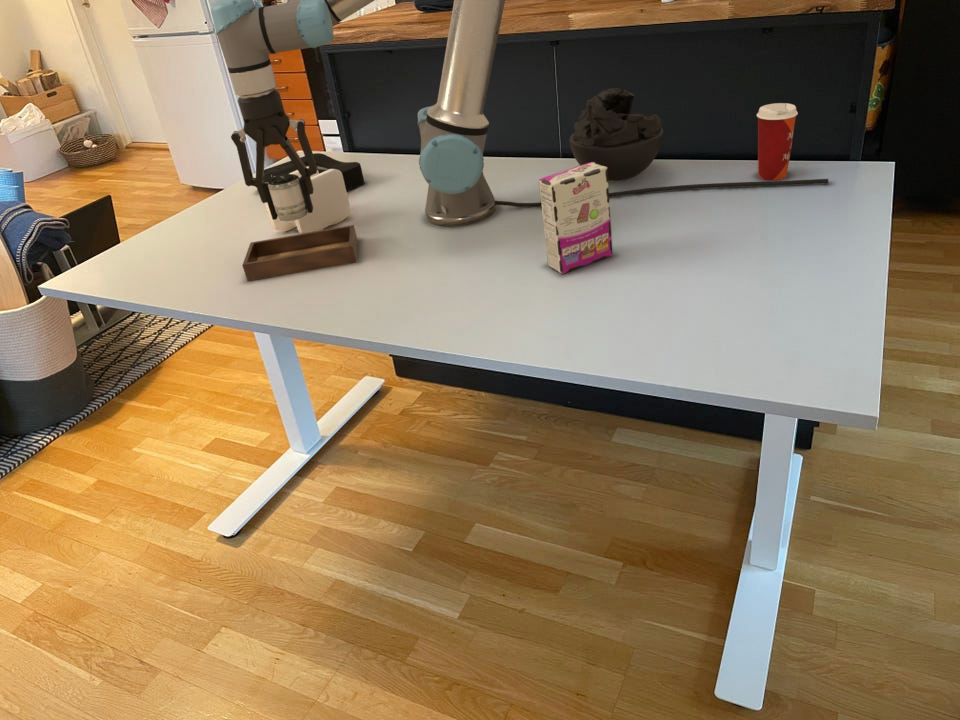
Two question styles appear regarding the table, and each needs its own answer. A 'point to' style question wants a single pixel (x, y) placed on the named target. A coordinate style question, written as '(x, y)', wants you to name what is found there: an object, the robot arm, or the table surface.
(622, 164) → the coal bowl
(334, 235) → the box
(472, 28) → the robot arm
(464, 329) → the table surface
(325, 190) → the cable organizer
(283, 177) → the camera lens
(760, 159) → the paper cup
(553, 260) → the candy bar box
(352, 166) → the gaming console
